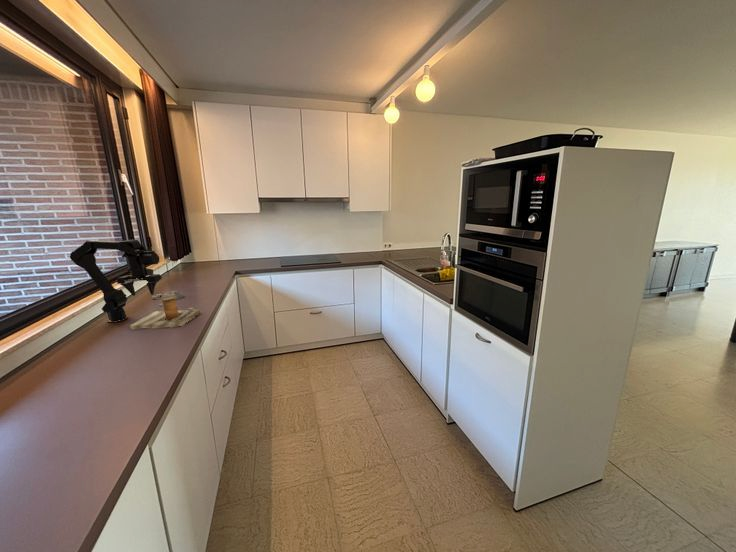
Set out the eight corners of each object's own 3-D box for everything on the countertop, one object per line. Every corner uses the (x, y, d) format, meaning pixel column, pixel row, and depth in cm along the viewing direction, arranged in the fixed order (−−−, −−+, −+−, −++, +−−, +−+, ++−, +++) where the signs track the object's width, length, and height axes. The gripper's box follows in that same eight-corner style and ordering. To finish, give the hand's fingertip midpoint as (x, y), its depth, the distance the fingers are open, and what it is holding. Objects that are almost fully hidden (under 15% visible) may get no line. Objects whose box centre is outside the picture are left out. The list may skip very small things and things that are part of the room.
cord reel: (163, 322, 153) (157, 297, 150) (175, 317, 159) (170, 293, 155) (171, 323, 151) (165, 298, 147) (183, 318, 156) (178, 294, 153)
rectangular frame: (130, 329, 146) (129, 325, 145) (155, 315, 163) (154, 311, 163) (181, 326, 146) (180, 323, 146) (200, 313, 164) (199, 309, 163)
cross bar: (172, 322, 146) (171, 319, 146) (190, 310, 162) (189, 307, 162) (176, 322, 147) (175, 319, 146) (193, 310, 162) (193, 307, 162)
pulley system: (177, 294, 203) (150, 298, 193) (176, 287, 202) (149, 291, 192) (189, 304, 184) (160, 310, 174) (189, 297, 183) (159, 302, 173)
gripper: (165, 261, 159) (171, 289, 163) (129, 262, 159) (136, 291, 163) (150, 265, 148) (157, 296, 152) (112, 267, 148) (120, 297, 152)
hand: (143, 295), depth 155 cm, fingers open, 9 cm apart
